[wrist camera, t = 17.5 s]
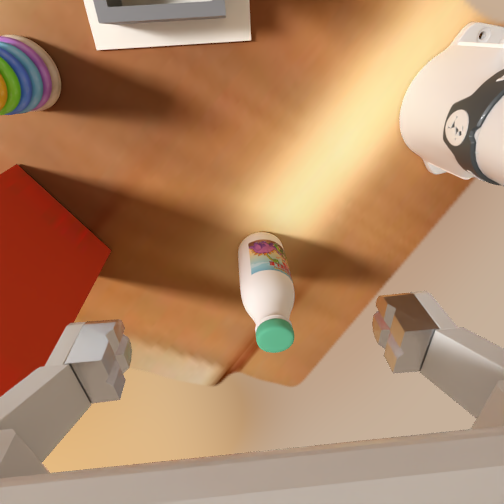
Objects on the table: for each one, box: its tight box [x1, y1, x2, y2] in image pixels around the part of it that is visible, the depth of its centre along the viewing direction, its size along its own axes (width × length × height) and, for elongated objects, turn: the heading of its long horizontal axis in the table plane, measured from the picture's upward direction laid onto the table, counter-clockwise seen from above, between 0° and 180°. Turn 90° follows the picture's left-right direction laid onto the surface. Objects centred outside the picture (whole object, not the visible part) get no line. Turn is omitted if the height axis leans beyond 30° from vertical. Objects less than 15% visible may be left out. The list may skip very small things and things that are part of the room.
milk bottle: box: [238, 232, 295, 353], centre depth 48 cm, size 8×8×20 cm
